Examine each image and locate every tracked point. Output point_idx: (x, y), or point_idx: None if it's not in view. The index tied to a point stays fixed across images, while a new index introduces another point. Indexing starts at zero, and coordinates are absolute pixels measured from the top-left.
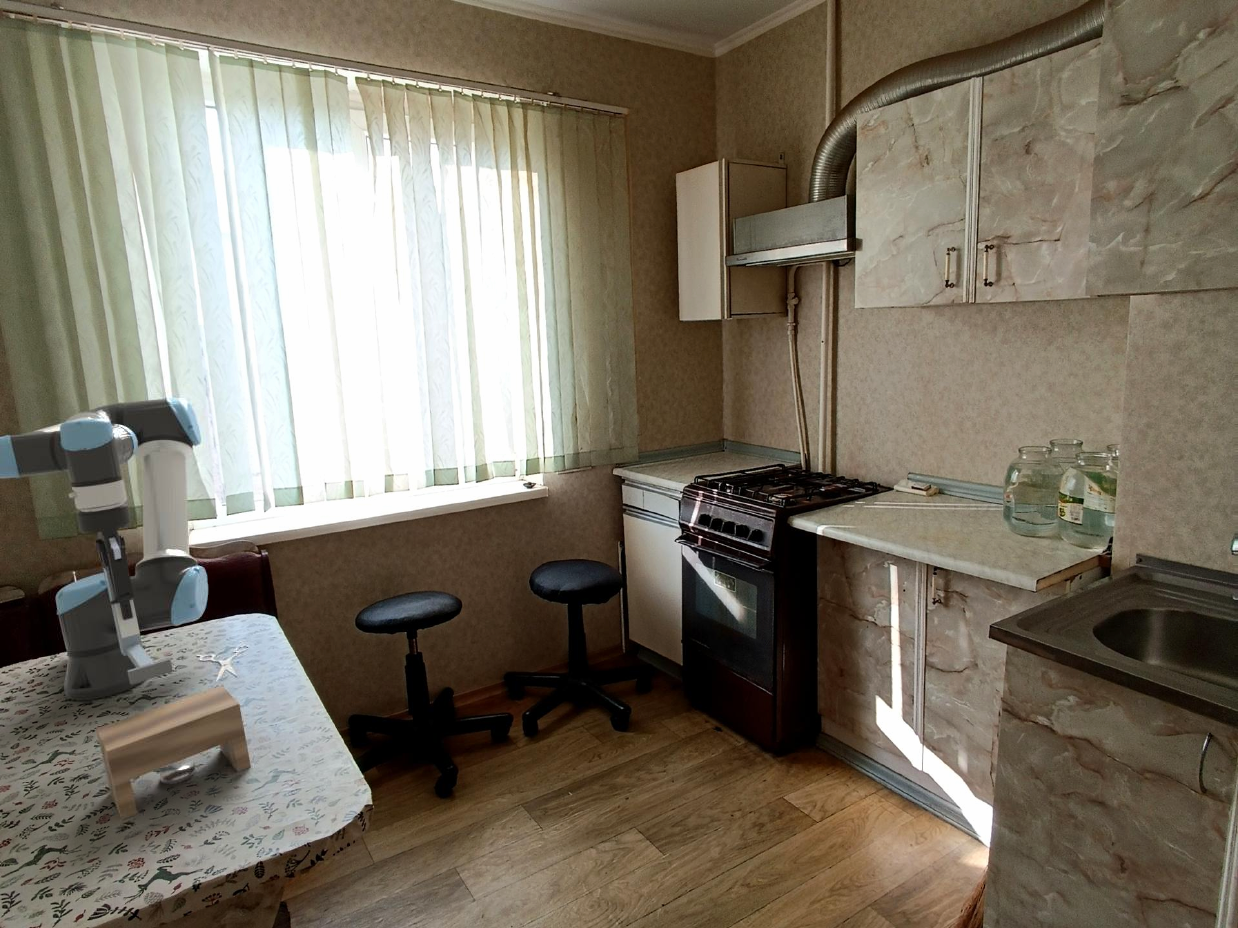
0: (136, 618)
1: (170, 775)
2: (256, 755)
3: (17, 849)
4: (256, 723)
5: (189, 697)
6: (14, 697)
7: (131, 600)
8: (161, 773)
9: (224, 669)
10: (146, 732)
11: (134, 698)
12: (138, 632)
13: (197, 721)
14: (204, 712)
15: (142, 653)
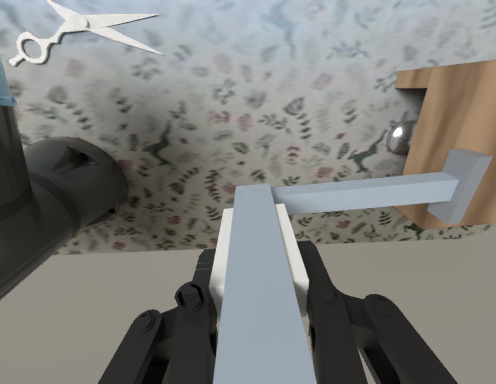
0: (291, 227)
1: None
2: (457, 49)
3: (391, 238)
4: (368, 26)
5: (467, 122)
6: (73, 252)
7: (306, 279)
8: (400, 152)
9: (108, 29)
10: None
11: (151, 160)
12: (284, 206)
13: None
14: None
15: (351, 194)
